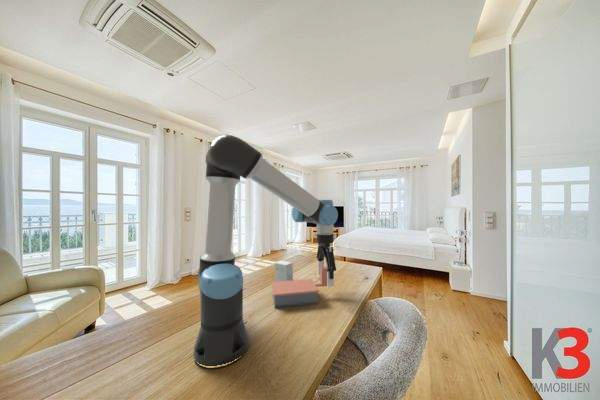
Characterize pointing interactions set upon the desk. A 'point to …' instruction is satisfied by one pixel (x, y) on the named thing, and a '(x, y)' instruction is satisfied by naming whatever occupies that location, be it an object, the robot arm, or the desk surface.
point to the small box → (283, 271)
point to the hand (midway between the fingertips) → (325, 279)
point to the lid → (299, 285)
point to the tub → (295, 300)
